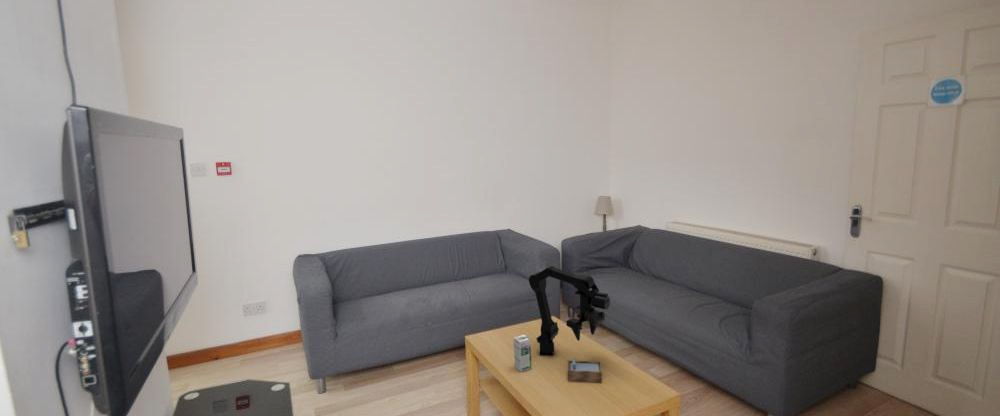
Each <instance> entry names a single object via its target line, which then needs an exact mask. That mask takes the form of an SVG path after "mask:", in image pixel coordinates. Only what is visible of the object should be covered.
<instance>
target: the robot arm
mask: <svg viewBox="0 0 1000 416" xmlns="http://www.w3.org/2000/svg"><path fill="white" fill-rule="evenodd" d="M549 277H550V278H553V279H555V280H559V281H562V282H563V283H566V284H569V285H572V286H573V287H574V289H576V291H575V292H574V294H575V295H578V298H579V299H578V303H579V304H578V305H577V306H576V308H577V309H578V312H579V313H578V314H576V315H577V318H578V319H576V317H575V318H574V317H573V318H569V319H567V320H566V327H568V328H570V329H571V331H572V332H573V334H574V337H575V339H576V340H577V341H578V342H579V341H580V340H581V330H583V324H585V323H587V322H588V324H589V329H590V334H591V335H592V336H593V335H594V334H595V332H596V329H597V327H598V326H601V325H602V322H603V321H605V320H606V319H605V318H606V315H605V312H604V311H599V310H596V309H595V308H598V309H601V310H605V311H606V310H607V311H608V309H609V308H610V304H611V299H610V297H609V293H606V292H599V291H600V289H599V287H598V286H597V285H596V283H595V280H594V278H593V277H592V276H590V275H587V274H574V273H572V272H568V271H566V270H562V269H561V268H557V267H555V266H553V265H550V266H548V267H545V268H544V269H543V270H542V271H537V272H535V273H533V274H531V275H530V276H529V278H528V283H529V286H530V288H531V289H532V291H533V292H534V293H535V298H536V302H537V306H538V310H539V315H540V319H541V323H540V335H539V336H538V337H535V338H536V341H537V344H539V356H550V357H551V356H552V357H553V356H554V354H555V342H554V339H555V338H556V337H557V336H558V334H559V331H560V328H559V326H558V322H557V321H556V322H555V321H554V320H553V318H552V314H551V311H550V310H551V309H550V305H549V301H548V298H547V297H548V296H547V293H546V288H547V278H549Z"/></svg>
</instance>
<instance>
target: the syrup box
mask: <svg viewBox="0 0 1000 416" xmlns="http://www.w3.org/2000/svg"><path fill="white" fill-rule="evenodd" d="M512 339H513V355H514V356H513V357H514V359H513V360H514V367H515V369H517V370H518V371H519V372H520V373H522V372H525V371H528V370H531V369H532V368H533V367H532V366H533V365H532V350H531V349H532V348H531V346H532V344H531V343H532V342H531V338H530V337H529V336H528V335H526V334H522V335H519V336H514V337H513V338H512Z"/></svg>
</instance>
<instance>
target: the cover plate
mask: <svg viewBox="0 0 1000 416" xmlns="http://www.w3.org/2000/svg"><path fill="white" fill-rule="evenodd" d="M572 361H573V363H571V370H580V371H599V365H598V364H591V363H575V361H576V358H572Z"/></svg>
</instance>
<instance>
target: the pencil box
mask: <svg viewBox="0 0 1000 416" xmlns="http://www.w3.org/2000/svg"><path fill="white" fill-rule="evenodd" d="M571 363H573V360H569V359H568V360H567V382H578V383H579V382H582V383H583V382H585V383H602V370H601V362H600V361H596V360H595V361H593V360H591V361H589V360H575V363H591V364H598V365H599V371H580V370H571Z"/></svg>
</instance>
